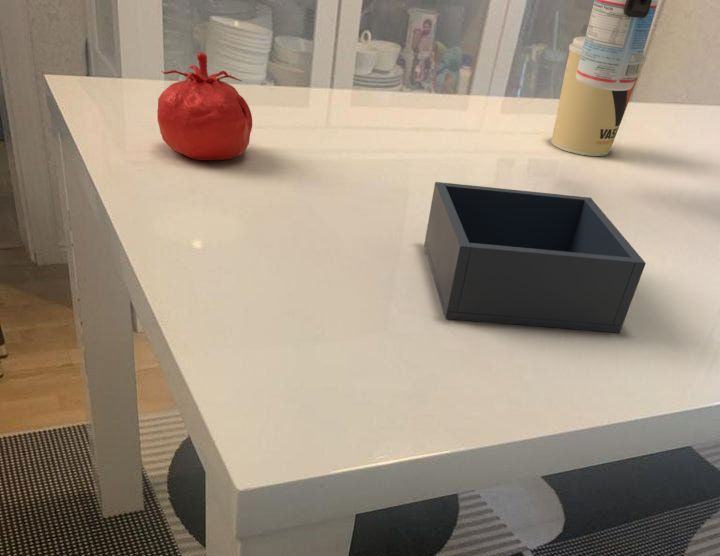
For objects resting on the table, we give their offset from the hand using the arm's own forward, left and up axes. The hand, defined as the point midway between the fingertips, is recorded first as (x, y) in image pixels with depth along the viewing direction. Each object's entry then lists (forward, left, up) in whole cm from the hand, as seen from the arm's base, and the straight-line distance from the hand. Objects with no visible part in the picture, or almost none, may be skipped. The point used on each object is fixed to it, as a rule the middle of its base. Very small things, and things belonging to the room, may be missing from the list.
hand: (623, 11), depth 73 cm
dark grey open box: (+13, +29, -17) cm, 36 cm away
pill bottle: (0, 0, -7) cm, 7 cm away
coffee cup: (-6, -17, -17) cm, 25 cm away
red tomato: (+41, +2, -17) cm, 45 cm away
